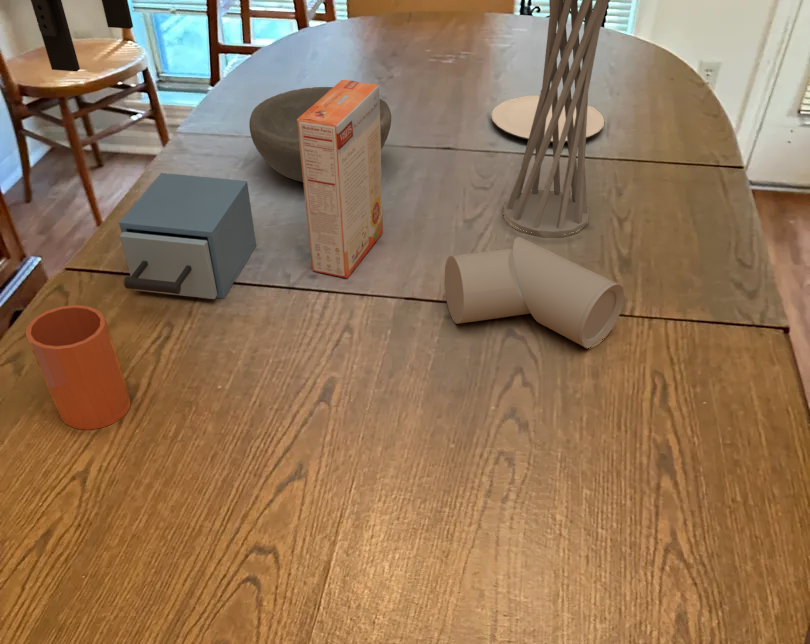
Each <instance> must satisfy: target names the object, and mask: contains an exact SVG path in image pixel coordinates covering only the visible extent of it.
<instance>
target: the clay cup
mask: <svg viewBox="0 0 810 644" xmlns="http://www.w3.org/2000/svg"><path fill="white" fill-rule="evenodd" d="M25 337H26V338H27V339H26V340H27V342H28V343H29V345H30V349H31V351H32V354H33V356H34V358H35V360H36V363H37V365H38V367H39V371H40V373H41V375H42V377H43V380H44V382H45V384H46V387H47V389H48V392H49V394H50V396H51V399H52V402H53V404H54V406H55V409H56V411H57V412H58V414H59V417H60V419H61V421H62V422H63V423H64V424H65V425H67V426H68V427H71V428H73V429H77V430H85V431H87V430H97V429H102V428H106V427H109V426H110V425H112V424H115V423H116V422H118V421H120V420H121V419H122V418H123V417H124V416H125V415H126V414H127V413H128V412H129V410H130V407H131V404H132V403H131V397H130V392H129V389H128V386H127V381H126V379H125V377H124V373H123V370H122V367H121V364H120V361H119V358H118V355H117V354H118V353H117V351H116V348H115V345H114V342H113V338H112V335H111V332H110V329H109V327H108V323H107V320H106V316H104V315H103V313H102V312H101V311H100V310H98V309H96V308H93V307H92V306H88V305H82V304H81V305H80V304H71V305H63V306H57V307H54V308H52V309H49V310H46V311H43V312H42V313H40V314H39V315H37V316H35V317H34V318H33V319H32V320H31V321H30V323H29V324H28V325H27V326H26V332H25Z"/></svg>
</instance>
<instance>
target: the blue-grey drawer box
mask: <svg viewBox="0 0 810 644" xmlns="http://www.w3.org/2000/svg"><path fill="white" fill-rule="evenodd" d="M118 225H119V229H120V232H121V234H122V233H123V232H130V233H134V231H133V229H134V230H144V231H153V232H163V233H173V234H182V235H192V236H201V237H207V238H208V243H209V249H210V254H211V259H212V265H213V270H214V275H215V280H216V290H217V296H216V298H215V299H222V300H223V299H225V298H226V297H227V295H228V293H229V292H230V290H231V288H232V287H233V285H234V283H235V282H236V280H237V278H238V277H239V275H240V273H241V271H242V270H243V268H244V267H245V265H246V263H247V262H248V260H249V259H250V256H251V255H252V253H253V251H255V248H256V247H257V241H256V234H255V233H256V232H255V227H254V219H253V213H252V206H251V198H250V191H249V184H248V181H247V180H241V179H240V180H239V179H230V178H220V177H209V176H200V175H199V176H197V175H187V174H176V173H169V172H168V173H166V172H165V173H164V172H161V173H160V174H159V175H158V176H157V177H156V178H155V180H153V182H152V183H151V184H150V185H149V187H147V189H146V190H145V191H144V192H143V193H142V195H141V196H140V197H139V198H138V199H137V201H135V203H134V204H133V205H132V207H130V208H129V210H128V211H127V212H126V213H125V214H124V215H123V217H122V218H121V219H120V220H119V221H118Z"/></svg>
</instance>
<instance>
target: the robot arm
mask: <svg viewBox="0 0 810 644" xmlns="http://www.w3.org/2000/svg"><path fill="white" fill-rule="evenodd" d="M30 2H31V6H32V10H33V13H34V16H35V18H36V23H37V26H38V29H39V32H40V34H41V38H42V41H43V44H44V47H45V52H46V55H47V58H48V62H49V64H50V68H51V70H53V71H64V72H74V73H75V72H77V73H78V72H79V70H81V67H80V63H79V60H78V56H77V52H76V49H75V46H74V41H73V38H72V35H71V31H70V28H69V23H68V20H67V16H66V12H65V8H64V4H63V1H62V0H30ZM101 3H102V7H103V12H104V17H105V21H106V25H107V28H113V29H127V30H131V29H133V27H134V23H133V18H132V14H131V9H130V5H129V1H128V0H101Z"/></svg>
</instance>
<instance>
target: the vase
mask: <svg viewBox="0 0 810 644" xmlns="http://www.w3.org/2000/svg"><path fill="white" fill-rule="evenodd" d="M578 1H579V0H548V2H549V5H548V6H549V18H548V27H547V36H546V46H545V47H546V48H545V56H544V65H543V76H542V86H541V90H540V94H539V96H540V98H539V101H538V105H537V109H536V113H535V117H534V120H533V124H532V128H531V132H530V136H529V139H528V140H527V143H526V148H525V151H524V155H523V159H522V163H521V166H520V170H519V172H518V176H517V178H516V181H515V183H514V186H513V188H512V192H511V193H510V197H509V199H507V200H506V201H505V202H504V204H503V211H502V218H503V220H505V222H506V224H507V225H508V226H509V227H511V228H513V229H515V230H516V231H518V232H520V233H523V234H527V235H531V236H537V237H541V238H547V239H548V238H565V237H568V236H573V235H576V234H579V233H580V232H581V231H582V230H583V229H584V228H586V227H587V226H588V225H589V223H590V222H589V221H590V220H589V219H590V218H589V215H590V210H591V209H590V207H589V206H587V205H588V204H587V187H586V186H587V185H586V183H587V182H586V181H587V180H586V148H587V147H586V145H587V138H586V126H587V106H588V105H589V104H588V103H589V90H590V85H591V80H592V73H593V68H594V63H595V58H596V52H597V47H598V41H599V36H600V31H601V28H602V25H603V21H604V18H605V16H606V11H607V9H608V5H609V2H610V0H595V2H594V0H582V1H581V3H580V6H579V3H578ZM593 3H594V4H593ZM593 5H594V6H593ZM569 16H570V21H571V22H570V23H571V24H570V25H571V31H570V33H569V36H567V35H568V34H567V22H568V21H569ZM582 25H583V34H582V37H581V40H580V31H581V29H582V28H581V27H582ZM571 54H572V57H573V58H572V63H571V65H570V62H569V60H570V58H571ZM559 55H560V60H559V64H558V57H559ZM581 64H582V65H581ZM561 82H562V88H561V92H560V94H559V93H558V91H559V90H558V89H559V87H560V83H561ZM573 84H574V90H573V91H574V92H573V94H572V87H573ZM558 95H559V96H558ZM558 97H559V99H558ZM551 105H552V118H551V120H550V123H549V125H548V128H547V131H546V133H545V125H546V118H547V115H548V112H549V110H550V107H551ZM564 105H565V117H566V121H565V124H564V127H563V131H562V134H561V137H560V140H559V128H558V120H559V118H560V115H561V112H562V110H563V107H564ZM575 107H576V119H575V125H574V124H573V114H574V110H575ZM544 134H545V136H544ZM552 136H553V143H552V163H551V166H550V169H549V173H548V176H547V178H546V179H547V180H546V183H545V186H544V189H539V186H540V177H541V167H542V164H543V162H544V159H545V157H546V153H547V151H548V148H549V146H550V144H551V143H550V141H551V138H552ZM566 136H567V141H568V142H567V153H568V159H567V165H566V170H565V176H564V182H563V188H562V191H561V177H560V176H561V173H560V172H561V171H560V170H561V169H560V158H561V156H562V152H563V149H564V146H565V143H566V142H565V140H566ZM534 152H535V153H534ZM533 154H535V155H534V162H533V164H532V168H531V169H530V172H529V176H528V177H527V180H526V176H527V173H528V170H529V165H530V163H531V160H532V157H533ZM525 180H526V184H525ZM524 184H525V186H524ZM552 185H553V190H551V189H552ZM523 188H524V189H523ZM570 193H571V194H570ZM503 215H504V216H505V217H506V218H505V217H504V216H503ZM506 219H507V220H508V221H507V220H506ZM510 223H511V224H512V225H511V224H510ZM587 223H588V224H587ZM513 225H514V226H513ZM515 226H516V227H518V228H519V229H518V228H516V227H515ZM583 226H584V227H583ZM582 227H583V228H582ZM581 228H582V229H581ZM520 229H521V230H520ZM579 229H580V230H579ZM523 230H524V231H523ZM577 230H579V231H577ZM526 231H527V232H526ZM576 231H577V232H576ZM531 232H532V233H531ZM571 232H574V233H571ZM569 233H570V234H569ZM564 234H566V235H564Z"/></svg>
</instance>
